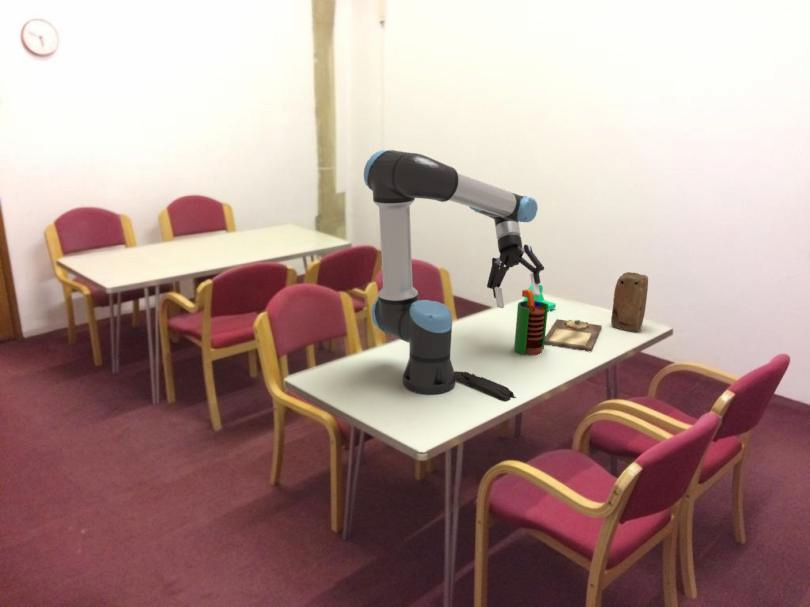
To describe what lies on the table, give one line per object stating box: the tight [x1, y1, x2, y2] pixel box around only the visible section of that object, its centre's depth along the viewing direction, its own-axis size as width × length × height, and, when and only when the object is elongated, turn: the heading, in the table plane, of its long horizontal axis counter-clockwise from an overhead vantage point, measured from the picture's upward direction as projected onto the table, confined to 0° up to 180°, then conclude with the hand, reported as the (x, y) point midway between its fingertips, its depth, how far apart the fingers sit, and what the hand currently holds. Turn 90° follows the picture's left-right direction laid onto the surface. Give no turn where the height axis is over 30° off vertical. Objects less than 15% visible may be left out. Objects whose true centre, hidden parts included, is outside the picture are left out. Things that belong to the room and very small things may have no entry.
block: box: [610, 271, 649, 332], centre depth 240 cm, size 11×8×20 cm
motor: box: [513, 289, 549, 356], centre depth 217 cm, size 10×9×20 cm
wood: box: [454, 370, 517, 402], centre depth 193 cm, size 22×7×3 cm, turn 43°
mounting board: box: [544, 318, 603, 352], centre depth 233 cm, size 16×25×3 cm, turn 157°
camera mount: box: [522, 283, 557, 313], centre depth 260 cm, size 12×8×10 cm, turn 130°
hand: (518, 301), depth 208 cm, fingers open, 13 cm apart
